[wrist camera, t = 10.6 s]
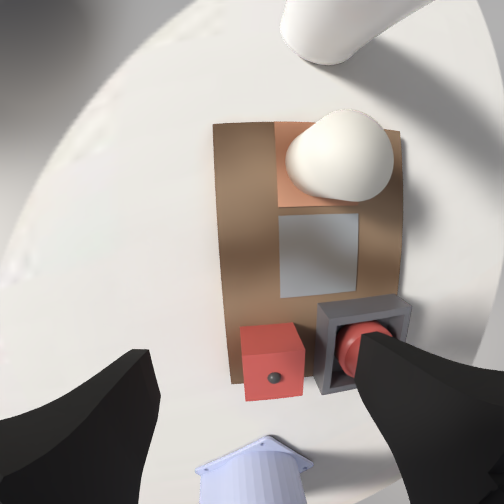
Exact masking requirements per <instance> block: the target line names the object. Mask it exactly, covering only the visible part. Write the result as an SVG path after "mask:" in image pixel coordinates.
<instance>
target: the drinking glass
mask: <svg viewBox="0 0 504 504" xmlns="http://www.w3.org/2000/svg"><path fill="white" fill-rule="evenodd" d="M433 1H435V0H286V3H285V8H284V12H283V15H282V18H281V21H280V32H281V36H282V38H283V40H284V42H285V43H286V45H287V46H288V47H289V48H290V49H291V50H292V51H293V52H294V53H295V54H297V55H298V56H300V57H301V58H303V59H305V60H307V61H310V62H313V63H316V64H321V65H335V64H339V63H342V62H344V61H346V60H348V59H349V58H351V57H352V56H353V55H354V54H355V53H356V52H357V51H358V50H359V49H360V48H361V47H363V46H364V45H366V44H367V43H368V42H370V41H371V40H373V39H374V38H375V37H377V36H378V35H380V34H381V33H383V32H384V31H386V30H387V29H389V28H390V27H392V26H393V25H395V24H396V23H398V22H400V21H401V20H403V19H404V18H406V17H408V16H409V15H411V14H413V13H414V12H416V11H418V10H419V9H421V8H423V7H424V6H426V5H428V4H430V3H432V2H433Z"/></svg>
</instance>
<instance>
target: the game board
mask: <svg viewBox="0 0 504 504" xmlns="http://www.w3.org/2000/svg"><path fill="white" fill-rule="evenodd" d="M314 124H315V123H312V122H245V123H223V124H213V146H214V170H215V190H216V208H217V225H218V240H219V255H220V268H221V281H222V293H223V305H224V316H225V327H226V338H227V348H228V357H229V367H230V376H231V384H241V383H244V376H243V364H242V351H241V337H240V327H243V326H257V325H269V324H281V323H291V322H293V324H294V326H295V328H296V330H297V333H298V335H299V337H300V339H301V341H302V343H303V346H304V348H305V366H304V377H309V376H313V369H314V355H315V340H316V323H317V303H322V302H331V301H340V300H349V299H357V298H364V297H372V296H379V295H386V294H393V293H394V294H396V295H397V291H398V283H399V273H400V261H401V248H402V228H403V172H402V152H401V139H400V131H393V130H386V129H384V131H385V132H386V134H387V136H388V138H389V140H390V142H391V145H392V149H393V155H394V164H393V171H392V175H391V178H390V180H389V182H388V184H387V185H386V187H385V188H384V189H383V190H382V191H381V192H380V193H379V194H378V195H376V196H375V197H373V198H371V199H368V200H365V201H359V202H353V201H345V200H338V199H330V198H322V197H314V196H310V195H307V194H305V193H303V192H302V191H300V190H299V189H298V188H297V187H296V186H295V185H294V184H293V183H292V181H291V180H290V178H289V176H288V174H287V170H286V164H285V159H286V153H287V150H288V147H289V146H290V144H291V142H292V141H293V140H294V139H295V138H296V137H297V136H299V135H300V134H301V133H303V132H304V131H305V130H307V129H308V128H310V127H311V126H312V125H314Z"/></svg>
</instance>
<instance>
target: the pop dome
mask: <svg viewBox="0 0 504 504" xmlns="http://www.w3.org/2000/svg"><path fill="white" fill-rule="evenodd" d="M376 331H377V332H380V333H383V334H386V335H388V336H391V337H392V335H391V333H390V332H389V331H388V330H387V329H386V328H385V327H383V326H382V325H381V324H380V323H379V322H378V321H377V320H371V321H365V322H359V323H352V324H346V325H345V326H343V327H342V329H341V330H340V331H339V332H338V334H337V335H336V339H335V349H334V355H335V357H336V359H337V361H338V362H339V364H340V366H341V367H342V369H343V371H344V372H345V373H346V374H347V375H348V376H350V377H353V378H354V377H355V371H356V366H357V360H358V353H359V347H360V340H361V334H364V333H370V332H376Z"/></svg>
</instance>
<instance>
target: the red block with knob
mask: <svg viewBox="0 0 504 504" xmlns="http://www.w3.org/2000/svg"><path fill="white" fill-rule="evenodd" d="M240 337H241V351H242V364H243V376H244V388H245V400H246V401H257V400H268V399H278V398H286V397H294V396H302V395H303V382H304V366H305V348H304V346H303V343H302V341H301V339H300V337H299V335H298V333H297V330H296V328H295V326H294V324H293V322H291V323H281V324H269V325H257V326H243V327H240Z"/></svg>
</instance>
